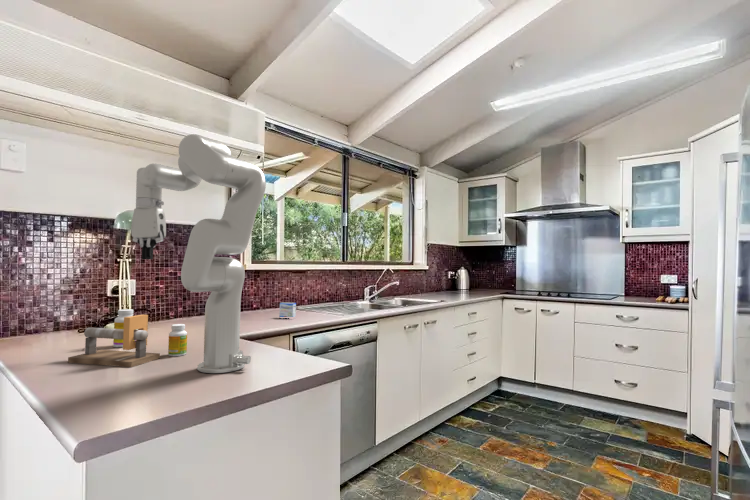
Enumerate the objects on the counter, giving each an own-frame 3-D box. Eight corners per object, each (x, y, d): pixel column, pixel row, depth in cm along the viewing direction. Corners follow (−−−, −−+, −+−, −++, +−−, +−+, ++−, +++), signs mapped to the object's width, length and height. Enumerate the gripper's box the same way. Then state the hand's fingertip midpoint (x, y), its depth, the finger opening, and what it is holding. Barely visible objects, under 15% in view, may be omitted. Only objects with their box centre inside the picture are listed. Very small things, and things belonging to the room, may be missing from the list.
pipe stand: (159, 358, 123) (160, 327, 124) (131, 367, 113) (132, 333, 113) (100, 354, 128) (101, 324, 128) (68, 362, 117) (69, 329, 117)
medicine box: (279, 319, 213) (279, 302, 214) (282, 317, 218) (282, 302, 218) (292, 319, 212) (293, 303, 212) (295, 318, 216) (296, 302, 217)
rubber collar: (147, 345, 122) (148, 314, 123) (128, 350, 115) (129, 317, 116) (141, 344, 123) (142, 314, 123) (122, 349, 116) (124, 317, 116)
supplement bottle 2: (181, 356, 126) (182, 326, 126) (164, 356, 126) (165, 325, 126) (189, 353, 131) (190, 323, 131) (173, 352, 131) (174, 323, 132)
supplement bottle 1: (124, 348, 137) (125, 311, 137) (108, 347, 138) (109, 310, 139) (139, 344, 143) (140, 309, 144) (124, 343, 145) (125, 308, 145)
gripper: (176, 206, 136) (174, 259, 135) (137, 207, 138) (136, 259, 138) (160, 202, 129) (159, 259, 128) (120, 203, 131) (118, 259, 130)
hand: (147, 259), depth 133 cm, fingers closed
